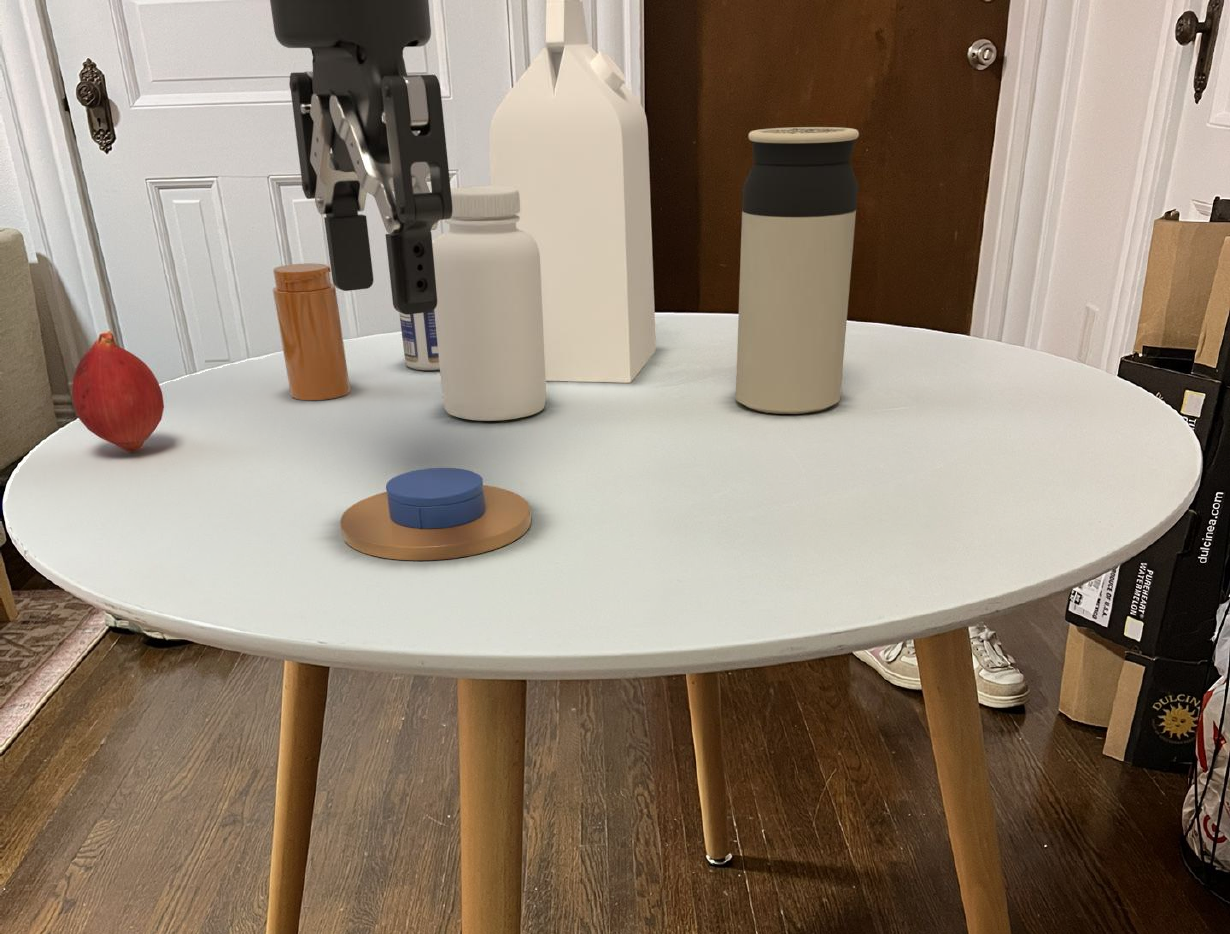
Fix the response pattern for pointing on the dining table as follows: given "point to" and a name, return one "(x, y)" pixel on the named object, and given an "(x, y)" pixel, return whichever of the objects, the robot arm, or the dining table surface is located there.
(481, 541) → the coaster
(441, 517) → the lid
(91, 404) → the onion
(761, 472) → the dining table surface
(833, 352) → the travel mug
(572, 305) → the milk
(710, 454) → the dining table surface
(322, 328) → the jar
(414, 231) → the robot arm
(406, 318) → the pill bottle
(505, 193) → the pill bottle
